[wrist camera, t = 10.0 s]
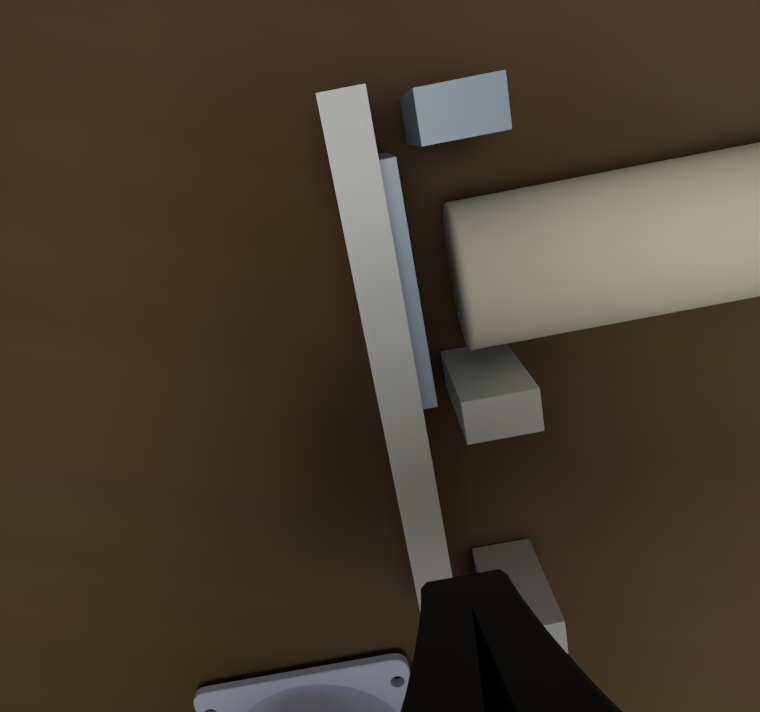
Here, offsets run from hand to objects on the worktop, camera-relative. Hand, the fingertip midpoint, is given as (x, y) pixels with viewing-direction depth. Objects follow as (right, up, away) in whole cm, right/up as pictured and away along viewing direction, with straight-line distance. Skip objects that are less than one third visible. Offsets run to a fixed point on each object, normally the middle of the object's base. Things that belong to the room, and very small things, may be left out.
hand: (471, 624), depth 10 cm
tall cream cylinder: (+6, +9, +8) cm, 14 cm away
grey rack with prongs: (+1, +4, +9) cm, 10 cm away
